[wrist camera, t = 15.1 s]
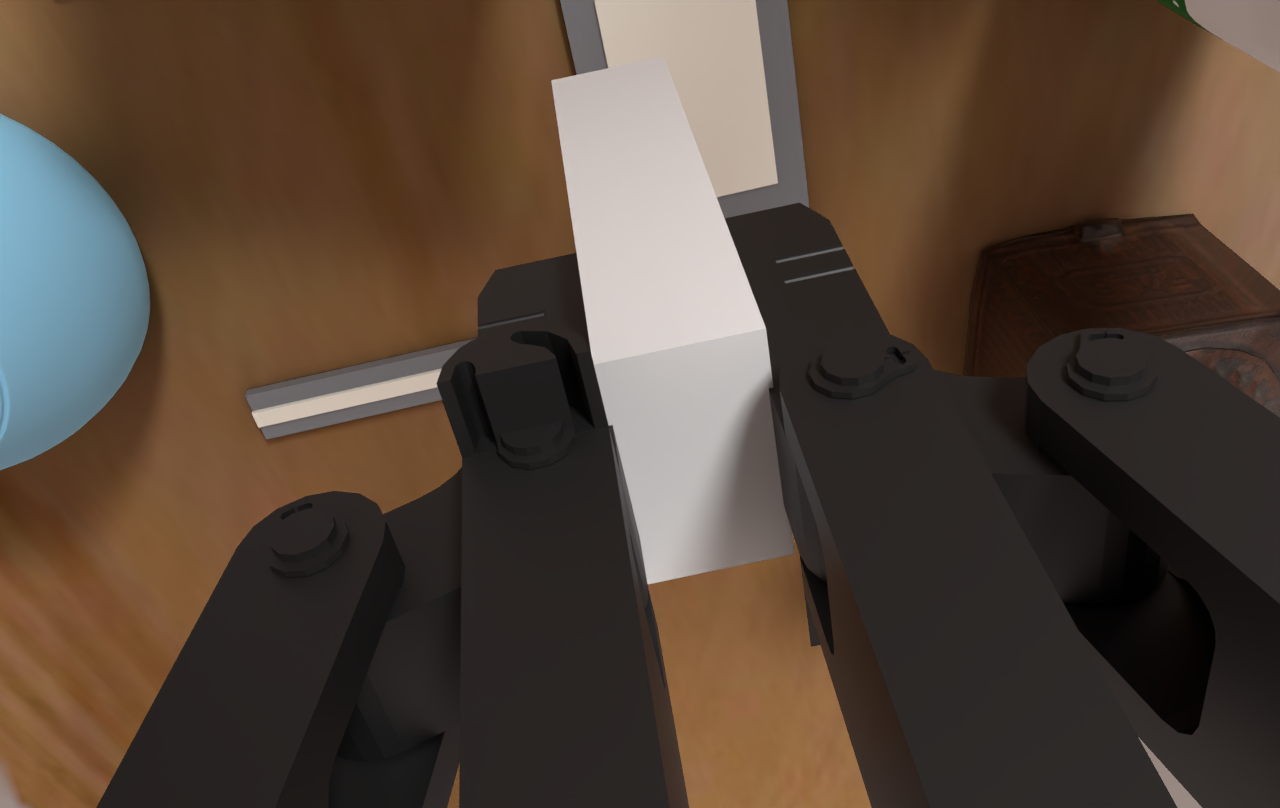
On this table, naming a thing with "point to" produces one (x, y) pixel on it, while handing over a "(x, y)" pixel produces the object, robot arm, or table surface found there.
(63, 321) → the sugar bowl
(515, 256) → the table surface
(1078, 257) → the brown manual coffee grinder
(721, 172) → the label board
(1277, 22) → the milk carton
